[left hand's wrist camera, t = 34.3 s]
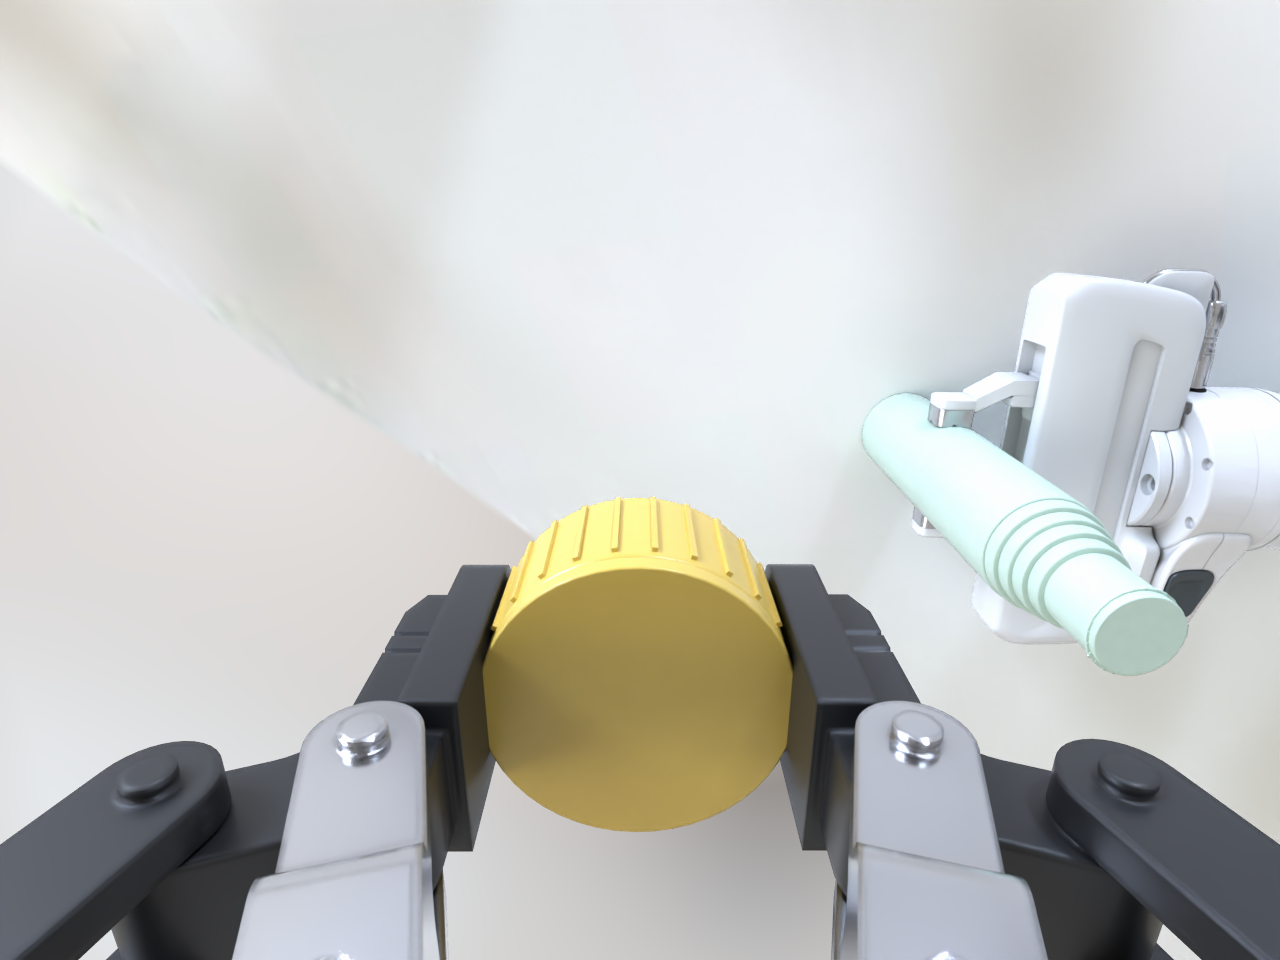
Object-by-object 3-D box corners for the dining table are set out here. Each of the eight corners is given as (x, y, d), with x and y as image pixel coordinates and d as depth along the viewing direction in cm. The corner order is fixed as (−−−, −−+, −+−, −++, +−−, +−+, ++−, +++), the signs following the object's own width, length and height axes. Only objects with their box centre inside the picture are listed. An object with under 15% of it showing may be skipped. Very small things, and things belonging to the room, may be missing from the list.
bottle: (862, 472, 47) (1059, 706, 25) (861, 397, 45) (1071, 579, 23) (939, 463, 47) (1205, 691, 25) (941, 388, 45) (1228, 562, 23)
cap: (816, 663, 12) (853, 763, 10) (587, 763, 13) (577, 876, 11) (697, 444, 11) (711, 504, 9) (450, 570, 12) (406, 654, 10)
